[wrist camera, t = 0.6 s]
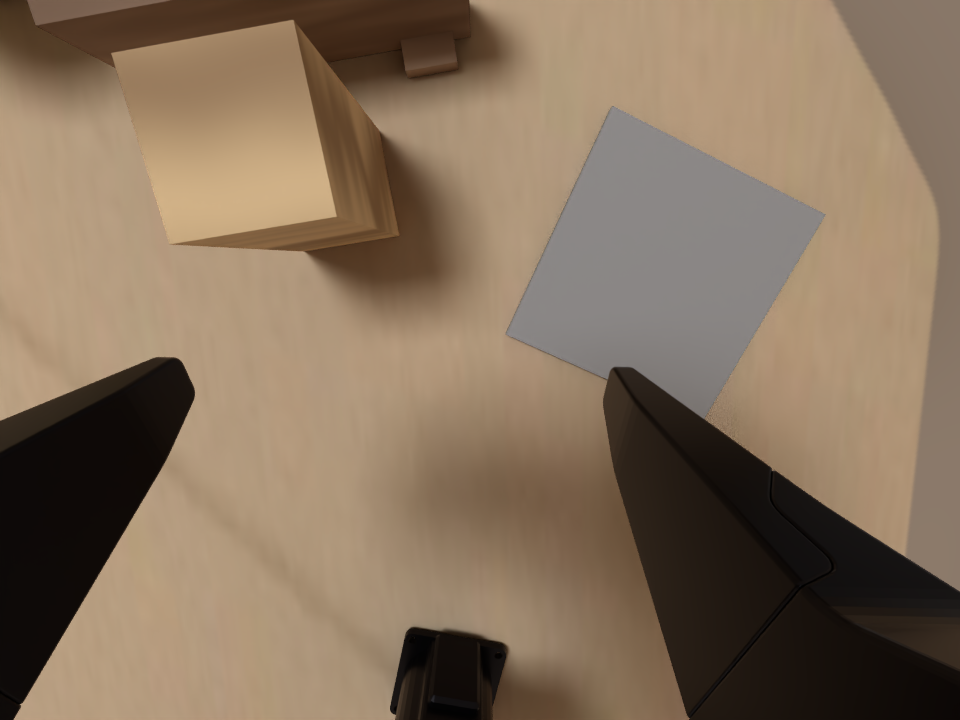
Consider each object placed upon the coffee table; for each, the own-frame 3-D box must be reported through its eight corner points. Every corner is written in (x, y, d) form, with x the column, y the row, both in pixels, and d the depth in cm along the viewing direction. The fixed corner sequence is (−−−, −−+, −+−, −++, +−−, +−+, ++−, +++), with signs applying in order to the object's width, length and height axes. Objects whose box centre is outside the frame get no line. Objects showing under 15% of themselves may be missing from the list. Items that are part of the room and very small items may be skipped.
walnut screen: (474, 66, 20) (472, -12, 15) (169, 120, 21) (49, 65, 15) (460, -32, 20) (452, -157, 14) (142, 26, 20) (3, -70, 14)
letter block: (399, 235, 22) (336, 216, 12) (304, 251, 22) (170, 244, 13) (378, 128, 21) (292, 14, 11) (279, 145, 21) (109, 47, 12)
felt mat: (698, 419, 24) (702, 421, 24) (505, 333, 23) (506, 334, 23) (819, 215, 22) (825, 214, 22) (610, 108, 21) (612, 105, 21)
